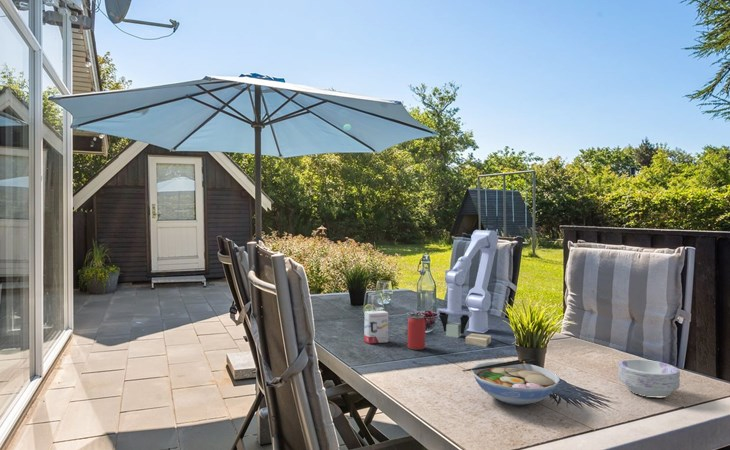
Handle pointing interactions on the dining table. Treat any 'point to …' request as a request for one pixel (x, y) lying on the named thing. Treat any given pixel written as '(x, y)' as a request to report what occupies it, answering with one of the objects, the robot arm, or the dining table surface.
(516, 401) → the ramen bowl
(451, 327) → the cube
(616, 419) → the dining table surface
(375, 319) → the ink box
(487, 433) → the dining table surface
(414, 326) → the beer can
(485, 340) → the pedestal
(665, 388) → the paper bowls
